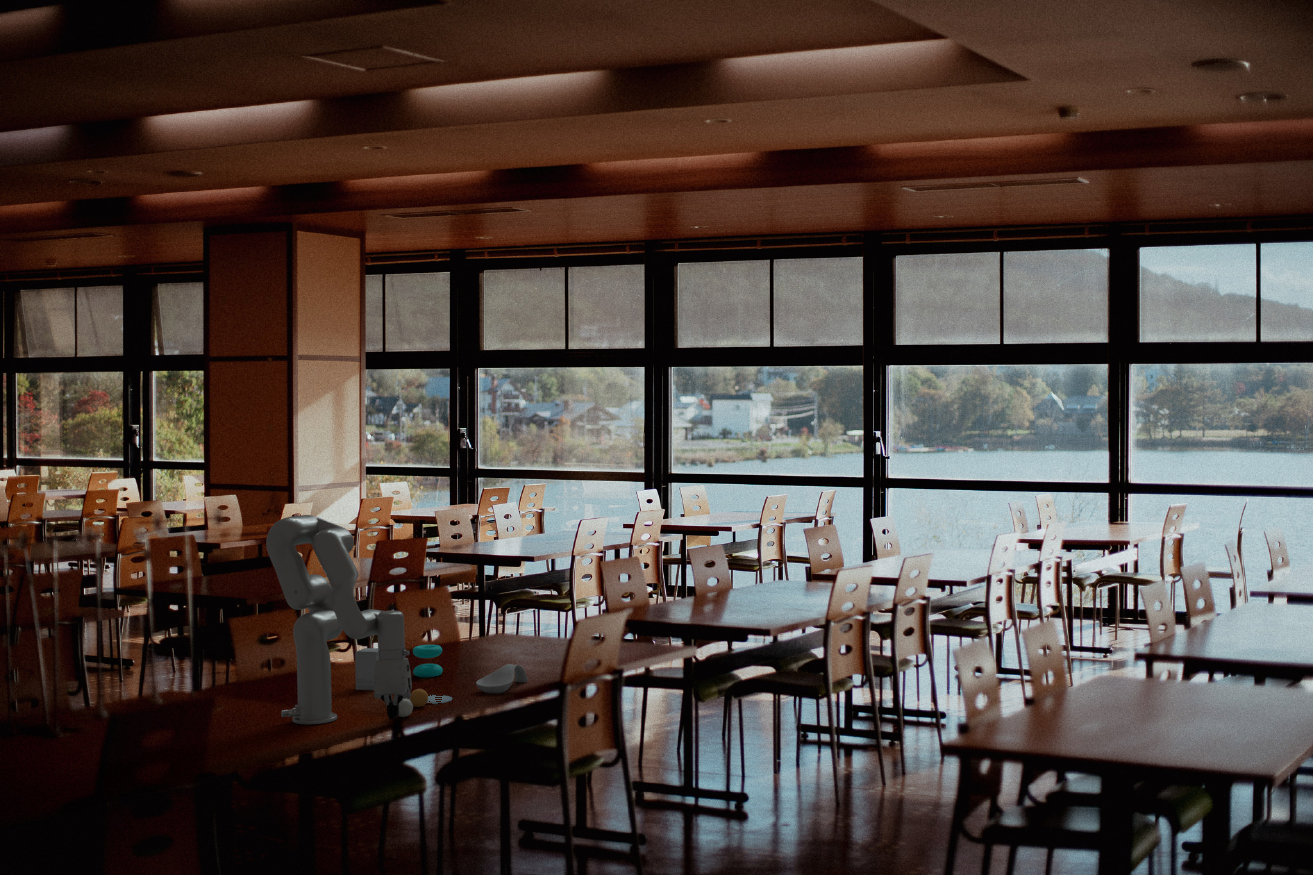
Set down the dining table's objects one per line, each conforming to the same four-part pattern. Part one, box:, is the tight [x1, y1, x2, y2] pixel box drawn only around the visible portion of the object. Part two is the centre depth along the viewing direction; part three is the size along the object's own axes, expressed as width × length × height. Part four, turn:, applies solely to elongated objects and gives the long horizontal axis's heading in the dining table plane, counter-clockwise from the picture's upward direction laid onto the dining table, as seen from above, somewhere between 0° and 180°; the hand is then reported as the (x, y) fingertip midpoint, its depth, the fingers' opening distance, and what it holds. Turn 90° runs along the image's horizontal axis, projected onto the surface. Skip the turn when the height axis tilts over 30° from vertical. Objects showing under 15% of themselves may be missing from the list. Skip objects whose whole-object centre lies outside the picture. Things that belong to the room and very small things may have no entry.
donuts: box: [412, 644, 444, 678], centre depth 460 cm, size 10×10×10 cm
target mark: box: [408, 694, 453, 705], centre depth 417 cm, size 14×14×1 cm
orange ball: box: [409, 688, 429, 708], centre depth 407 cm, size 6×6×6 cm
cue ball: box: [398, 698, 414, 718], centre depth 393 cm, size 6×6×6 cm
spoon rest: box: [475, 663, 528, 695], centre depth 434 cm, size 24×12×7 cm, turn 158°
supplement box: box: [354, 647, 378, 691], centre depth 439 cm, size 7×7×13 cm
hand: (393, 718), depth 384 cm, fingers closed
